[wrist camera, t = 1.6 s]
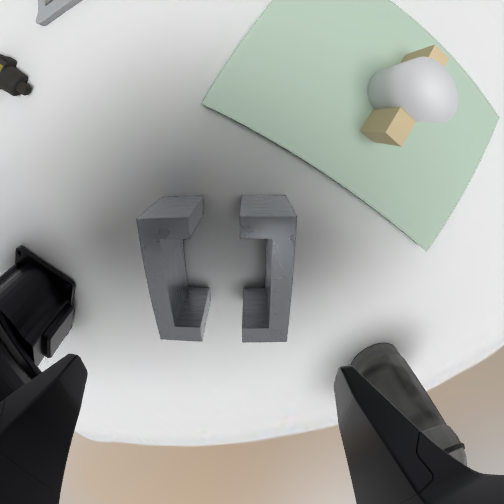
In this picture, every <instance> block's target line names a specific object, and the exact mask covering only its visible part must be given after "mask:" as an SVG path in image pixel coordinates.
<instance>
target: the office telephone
mask: <svg viewBox="0 0 504 504" xmlns="http://www.w3.org/2000/svg"><path fill="white" fill-rule="evenodd" d="M81 1H82V0H38V16H37V18H36V23H37V24H40V25H43V26H46V25H48V24H49V23H51V22H52V21H54V20H55V19H56V18H58V17H59V16H61V15H62V14H63V13H65V12H66V11H67V10H69V9H70V8H72V7H73V6H75V5H76V4H78V3H79V2H81Z"/></svg>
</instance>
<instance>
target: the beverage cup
mask: <svg viewBox="0 0 504 504" xmlns="http://www.w3.org/2000/svg"><path fill="white" fill-rule="evenodd" d="M351 366H353V367H354V368H355V369H356V370H357V371H358V372H359V373H360V374H361V375H362V376H363V377H364V378H365V379H366V380H368V381H369V382H370V383H371V384H372V385H373V386H374V387H375V388H376V389H377V390H378V391H379V392H380V393H381V394H382V395H383V396H384V397H385V398H387V399H388V400H389V401H390V402H391V403H392V404H393V405H394V406H395V407H396V408H397V409H398V410H399V411H400V412H401V413H402V414H404V415H405V416H406V417H407V418H408V419H409V420H410V421H411V422H412V423H413V424H414V425H415V426H416V427H417V428H418V429H419V431H422V432H423V433H424V434H425V435H426V436H427V437H428V438H430V439H431V440H432V441H433V442H434V443H435V444H436V445H438V446H439V447H440V448H442V449H443V450H444V451H446V452H447V453H448V454H450V455H451V456H453V457H454V458H455V459H457V460H458V461H460V462H461V463H463V464H464V465H466V466H467V459H466V454H465V451H464V449H465V447H464V444H463V443H461V442H460V441H459V438H458V436H457V435H456V434H455V433H454V432H453V430H452V429H451V428H450V427H449V426H448V425H446V423H445V421H444V420H443V418H442V416H441V415H440V413H439V411H438V410H437V408H436V406H435V405H434V403H433V402H432V400H431V399H430V397H429V396H428V394H427V392H426V391H425V389H424V388H423V386H422V385H421V383H420V382H419V380H418V379H417V377H416V376H415V374H414V373H413V371H412V370H411V368H410V367H409V365H408V364H407V362H406V361H405V359H404V358H403V357H402V356H401V355H400V354H399V352H397V350H396V348H395V347H394V346H393V345H392V344H389V343H379V344H376V345H372V346H370V347H368V348H366V349H364V350H363V351H362V352H360V353H359V354H358V355H357V356H356V357H355V358H354V359H353V361H352V363H351Z"/></svg>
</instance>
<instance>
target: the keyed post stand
mask: <svg viewBox="0 0 504 504" xmlns="http://www.w3.org/2000/svg"><path fill="white" fill-rule="evenodd" d="M201 104H203V105H205V106H207V107H209V108H211V109H213V110H215V111H217V112H219V113H221V114H223V115H225V116H227V117H229V118H231V119H233V120H235V121H237V122H239V123H241V124H242V125H244V126H246V127H248V128H250V129H252V130H253V131H255V132H257V133H259V134H261V135H262V136H264V137H266V138H268V139H269V140H271V141H273V142H275V143H276V144H278V145H280V146H281V147H283V148H285V149H286V150H288V151H290V152H291V153H293V154H295V155H296V156H298V157H299V158H301V159H303V160H304V161H306V162H307V163H309V164H310V165H312V166H314V167H315V168H317V169H318V170H320V171H321V172H323V173H324V174H326V175H327V176H329V177H330V178H332V179H333V180H335V181H336V182H338V183H339V184H340V185H342V186H343V187H345V188H346V189H348V190H349V191H350V192H352V193H353V194H355V195H356V196H357V197H359V198H360V199H361V200H363V201H364V202H365V203H367V204H368V205H369V206H371V207H372V208H373V209H375V210H376V211H377V212H379V213H380V214H381V215H383V216H384V217H385V218H386V219H388V220H389V221H390V222H391V223H393V224H394V225H395V226H396V227H398V228H399V229H400V230H401V231H403V232H404V233H405V234H406V235H407V236H409V237H410V238H411V239H412V240H413V241H414V242H416V243H417V244H418V245H419V246H420V247H422V248H423V249H424V250H425V251H426V252H427V250H428V249H429V248H430V246H431V245H432V243H433V242H434V240H435V239H436V237H437V236H438V234H439V233H440V231H441V230H442V228H443V227H444V225H445V223H446V222H447V220H448V219H449V217H450V215H451V214H452V212H453V210H454V209H455V207H456V205H457V204H458V202H459V200H460V199H461V197H462V195H463V193H464V191H465V190H466V188H467V186H468V184H469V182H470V180H471V178H472V177H473V175H474V173H475V171H476V169H477V167H478V165H479V163H480V161H481V159H482V156H483V154H484V152H485V150H486V148H487V146H488V143H489V141H490V139H491V136H492V134H493V132H494V129H495V127H496V124H497V122H498V119H499V116H498V115H497V113H496V112H495V110H494V109H493V107H492V106H491V104H490V103H489V101H488V100H487V99H486V97H485V96H484V94H483V93H482V92H481V90H480V89H479V88H478V86H477V85H476V84H475V82H474V81H473V80H472V79H471V77H470V76H469V75H468V74H467V73H466V71H465V70H464V69H463V68H462V67H461V66H460V64H459V63H458V62H457V61H456V60H455V59H454V58H453V57H452V55H451V54H450V53H449V52H448V51H447V50H446V49H445V48H444V47H443V46H442V45H441V44H440V43H439V42H438V41H437V40H436V39H435V38H434V37H433V36H432V35H431V34H430V33H429V32H428V31H427V30H425V29H424V28H423V27H422V26H421V25H420V24H419V23H418V22H416V21H415V20H414V19H413V18H412V17H411V16H409V15H408V14H407V13H406V12H404V11H403V10H402V9H401V8H399V7H398V6H397V5H396V4H394V3H393V2H392V1H390V0H273V1H272V2H271V4H270V5H269V6H268V7H267V8H266V10H265V11H264V12H263V13H262V15H261V16H260V17H259V19H258V20H257V21H256V22H255V24H254V25H253V26H252V28H251V29H250V30H249V32H248V33H247V34H246V36H245V37H244V39H243V40H242V41H241V43H240V44H239V46H238V47H237V48H236V50H235V51H234V53H233V54H232V56H231V57H230V59H229V60H228V62H227V63H226V65H225V66H224V68H223V69H222V71H221V72H220V74H219V75H218V77H217V79H216V80H215V82H214V83H213V85H212V87H211V88H210V90H209V92H208V93H207V95H206V97H205V98H204V100H203V102H202V103H201Z"/></svg>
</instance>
